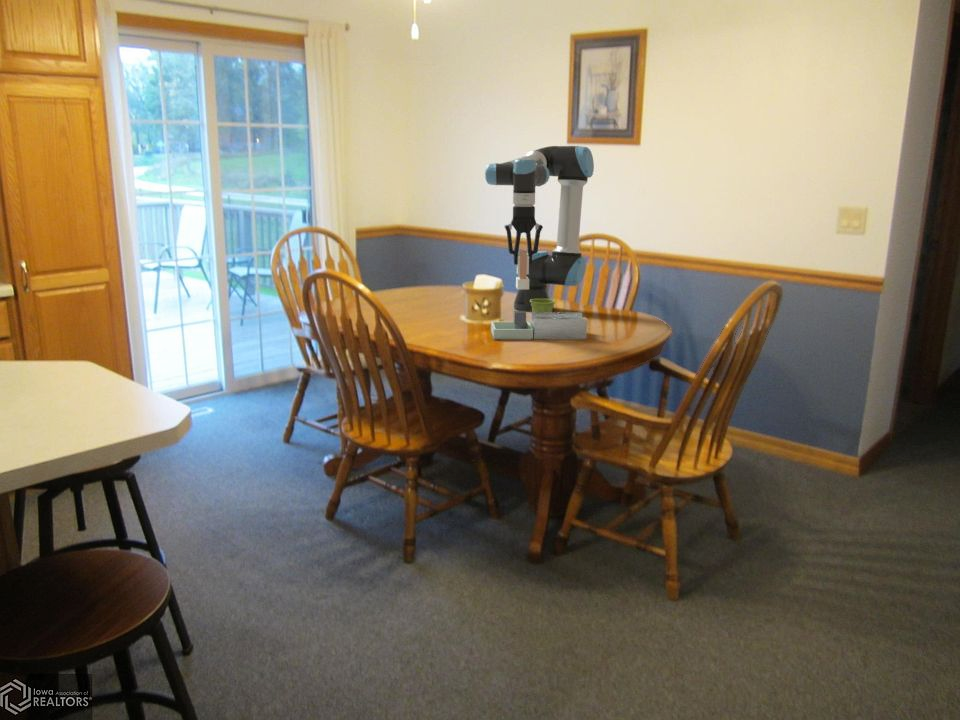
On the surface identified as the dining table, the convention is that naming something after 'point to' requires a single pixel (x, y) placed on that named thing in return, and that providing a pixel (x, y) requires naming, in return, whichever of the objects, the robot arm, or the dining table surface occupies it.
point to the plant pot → (542, 305)
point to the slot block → (558, 325)
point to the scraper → (522, 271)
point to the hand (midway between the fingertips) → (522, 273)
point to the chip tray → (510, 331)
